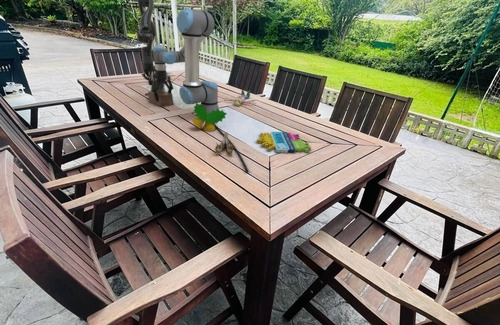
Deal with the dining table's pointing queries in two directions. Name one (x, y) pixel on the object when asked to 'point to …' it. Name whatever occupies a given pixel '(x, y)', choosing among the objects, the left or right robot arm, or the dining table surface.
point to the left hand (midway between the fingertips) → (150, 85)
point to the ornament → (207, 117)
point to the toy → (241, 99)
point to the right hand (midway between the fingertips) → (163, 99)
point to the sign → (283, 142)
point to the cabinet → (161, 98)
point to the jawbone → (224, 145)
